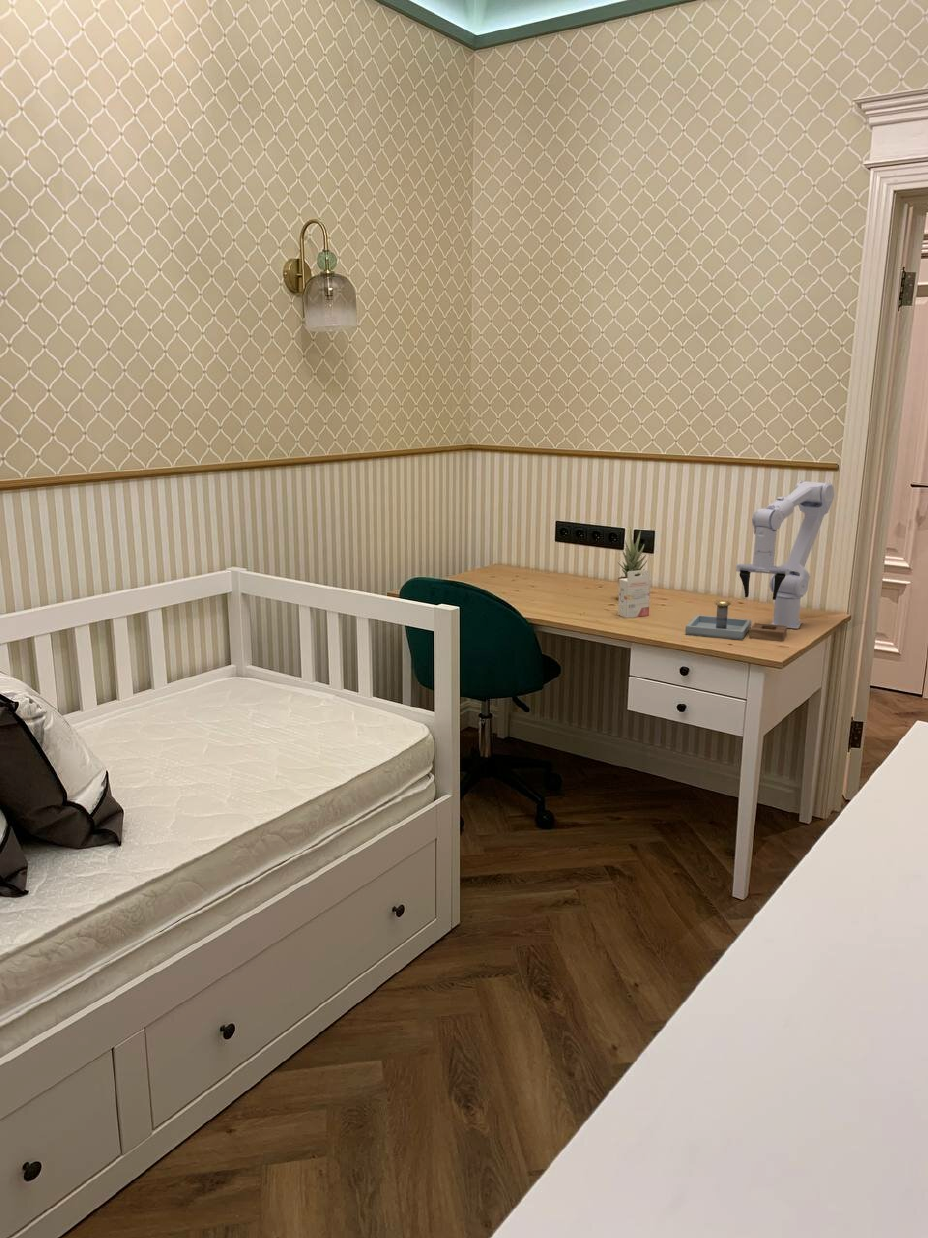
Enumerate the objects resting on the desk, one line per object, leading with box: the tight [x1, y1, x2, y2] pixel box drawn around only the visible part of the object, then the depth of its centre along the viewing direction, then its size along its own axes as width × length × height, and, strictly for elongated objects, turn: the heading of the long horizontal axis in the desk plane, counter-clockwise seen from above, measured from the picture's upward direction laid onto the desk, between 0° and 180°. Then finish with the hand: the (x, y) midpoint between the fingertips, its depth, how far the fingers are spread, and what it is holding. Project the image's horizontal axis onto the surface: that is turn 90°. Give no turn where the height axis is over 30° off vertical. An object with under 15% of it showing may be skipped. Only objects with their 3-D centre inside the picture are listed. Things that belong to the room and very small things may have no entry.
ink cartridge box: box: [617, 569, 651, 619], centre depth 302 cm, size 9×5×15 cm, turn 114°
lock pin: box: [714, 599, 732, 629], centre depth 282 cm, size 4×4×8 cm
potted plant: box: [616, 528, 648, 585], centre depth 324 cm, size 10×10×25 cm
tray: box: [685, 614, 752, 641], centre depth 283 cm, size 16×16×2 cm
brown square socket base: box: [749, 622, 788, 642], centre depth 277 cm, size 9×9×2 cm
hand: (760, 597), depth 279 cm, fingers open, 7 cm apart
